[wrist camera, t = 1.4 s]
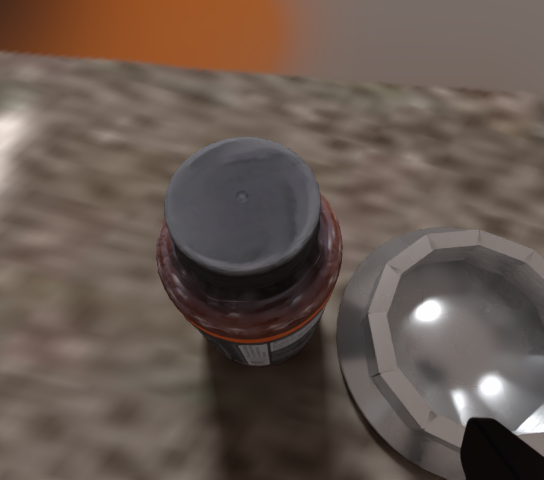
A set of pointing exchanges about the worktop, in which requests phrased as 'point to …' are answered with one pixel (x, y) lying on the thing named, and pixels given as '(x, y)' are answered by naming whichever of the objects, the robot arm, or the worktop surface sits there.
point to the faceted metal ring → (445, 342)
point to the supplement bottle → (249, 249)
